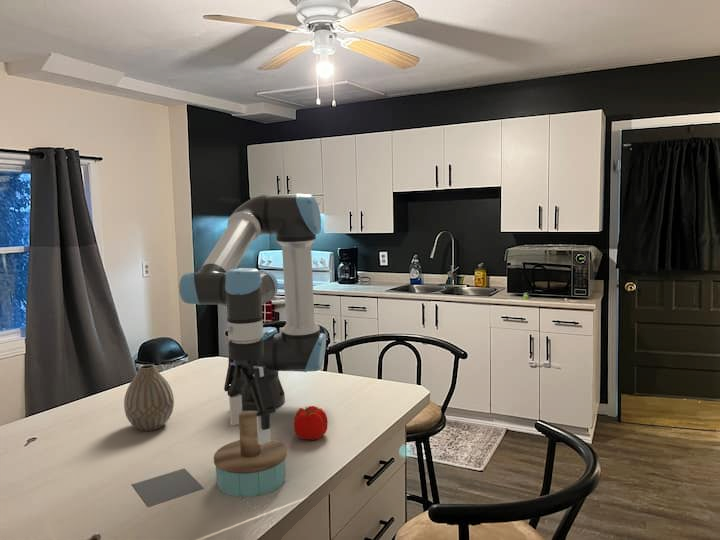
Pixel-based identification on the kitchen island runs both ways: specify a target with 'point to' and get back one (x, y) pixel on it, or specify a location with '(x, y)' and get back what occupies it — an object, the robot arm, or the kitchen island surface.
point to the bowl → (251, 481)
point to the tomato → (310, 423)
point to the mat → (166, 487)
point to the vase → (148, 399)
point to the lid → (249, 450)
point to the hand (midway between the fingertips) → (249, 432)
